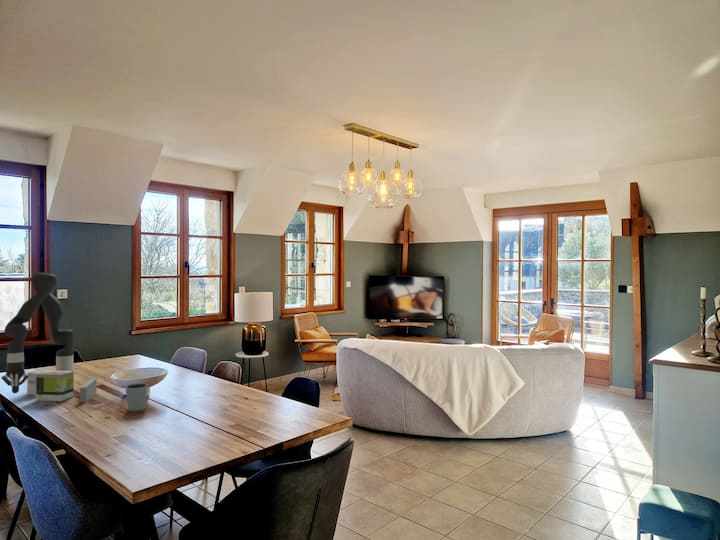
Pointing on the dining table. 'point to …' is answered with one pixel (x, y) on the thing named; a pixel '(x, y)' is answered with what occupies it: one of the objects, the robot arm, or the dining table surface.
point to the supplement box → (32, 382)
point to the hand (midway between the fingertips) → (15, 392)
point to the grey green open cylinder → (136, 396)
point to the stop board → (88, 390)
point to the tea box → (54, 385)
